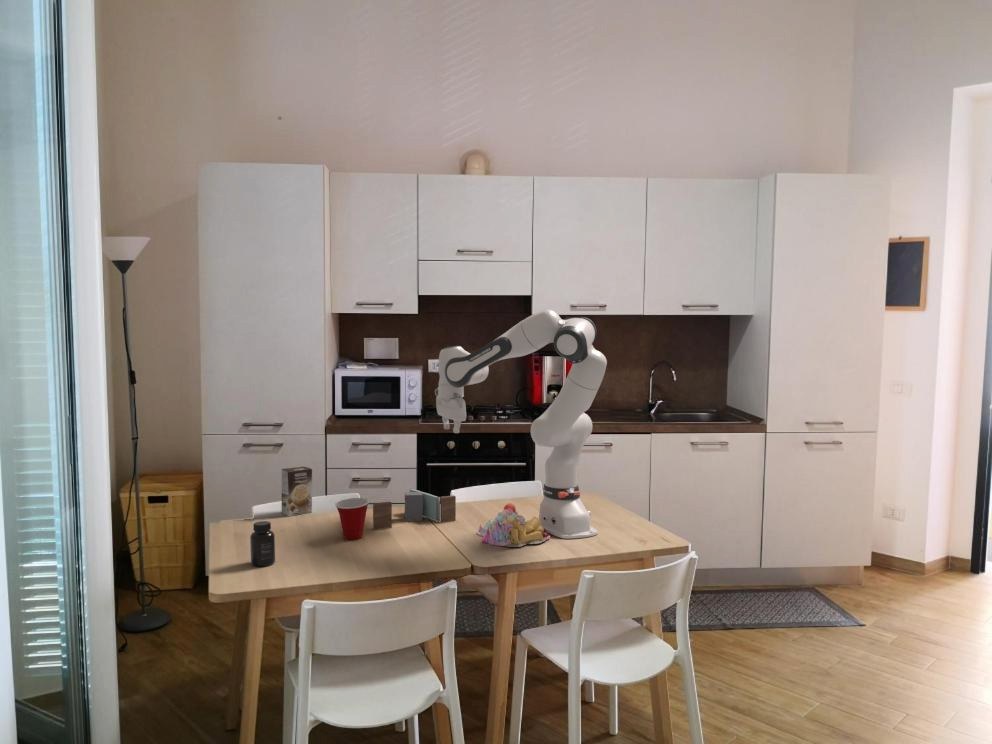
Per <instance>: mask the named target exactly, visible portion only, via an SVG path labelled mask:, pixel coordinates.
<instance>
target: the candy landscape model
mask: <svg viewBox="0 0 992 744" xmlns="http://www.w3.org/2000/svg"><path fill="white" fill-rule="evenodd" d="M541 523H542V522H541V521H540V520H539V517H536V516H533V517H531V519H529V520H527V521H526V518H525V517H524V516H523V515H521V514H518V511H517V509H516V506H515V504H513V503H511V502H510V503H507V504H505V505H504V507H503V510H502V511H501V512H498V513H497V516H495V518H494V519H492V518H491V519H488V522H487V523H485V525H484V526H483V527H482V524H479V527H478V531H477V532H476V533H477V535H478V536H479V537H482V542H483V543H486V545H487V544H489V546H498V548H500V547H507V548H520V547H523V546H526V545H537V544H542V543H543V542H546V541H547V540H550V539H551V537H552V534H550V533H549V532H548V531H547V530H546V529H545V528H542V526H541V525H540V524H541Z"/></svg>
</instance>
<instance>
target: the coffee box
mask: <svg viewBox="0 0 992 744" xmlns="http://www.w3.org/2000/svg"><path fill="white" fill-rule="evenodd" d="M281 513H282V514H284V515H286V516H287V517H294V516H300V515H305V514H306V515H307V514H312V513H313V468H311V467H308V466H296V467H295V466H294V467H287V468H281Z"/></svg>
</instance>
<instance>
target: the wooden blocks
mask: <svg viewBox="0 0 992 744" xmlns="http://www.w3.org/2000/svg"><path fill="white" fill-rule="evenodd" d="M456 499H457V497H456V495H447V496H446V495H445V496H444V495H443V496H440V521H439V522H441V523H445V522H446V523H447V522H456V519H457V518H456V510H457V509H456V507H457V506H456V504H457V502H456V501H457V500H456ZM392 506H393V503H392V501H382V502H373V504H372V528H373V530H381V529H382V530H383V529H392V528H393V519H392V518H393V517H392V514H393V510H392V509H393V507H392Z"/></svg>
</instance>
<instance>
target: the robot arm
mask: <svg viewBox="0 0 992 744" xmlns="http://www.w3.org/2000/svg"><path fill="white" fill-rule="evenodd" d="M596 338H597V327H596V325H595V323H594V321H592V319H590V318H589V317H585V316H566V317H565V318H564V319H562V318H561V316H560V315H559V314H558V313H557V312H556V311H554V310H553V309H544V310H541V311H539V312H536V313H534V314H531V315H530V316H528V317H526V318H525V319H523V320H521V321H519V322H518V323H517V324H515V325H514V326H512V327H511V328H510V329H508V330H507V331H505V332H504V333H503V334H501V335H500V336H498V337H496V338H495V339H493V341H491V342H489V343H487V344H486V345H483V346H482V347H480V348H479V349H477V350H475V351H473V352H471V353H470V352H469V351H466V350H465V349H464V348H463V347H462V346H461V345H452V346H447V347H444V348H442V349H441V350H440V352H439V354H438V355H439V356H438V375H439V381H438V387H437V388H436V389H434V394H435V396H436V398H435V402H436V404H435V407H436V413H437V415H438V416H441V420H442V423H443V429H444V430H450V427H451V426H450V421H449V420H452V421H453V427H452V431H453V433H454V434H460V428H461V426H462V425H461V423H462V422H466V419H467V408H466V407H467V405H466V401H465V399H464V398H463V397H465V395H464V394H465V393H464V392H465V389H464V387H466V386H469V385H474V384H475V385H476V384H479V383H482V382H484V381H486V379H487V378H488V376H489V373H490V366H491V365H492V364H494V363H496V362H499V361H502V360H506V359H512V358H520V357H524V356H527V355H529V354H533V353H535V352H537V351H539V350H540V349H542V348H544V347H546V345H549V344H551V343H553V348H554V350H555V352H556V353H557V354H558V355H559V356H560V357H562V358H563V359H564V360H566V361H568V363H570V364H571V368H570V370H569V372H568V374H567V376H566V379H565V381H564V383H563V385H562V387H561V389H560V391H559V393H558V394H557V396H556V398H555V399H554V400H553V402H552V403H551V404H550V405H549V406H548V408H547V409H546V410H545V411H544V412H543V413H542V414H541V415H539V417H537V418H536V419H534V420H533V421H532V424H531V425H530V437H531V438H532V441H533V443H535V445H537V446H539V447H544V448H552V451H551V454H550V455H549V456H548V458H547V459H546V460H545V464H544V484H543V488H542V493H543V498H542V501H541V502H540V504H539V511H538V512H539V514H538V519H539V520H540V521H541V522H542V523H541V524H540V525H541V526H542V528H545V529H546V530H547V531H548V532H549V533H550V534H551V536H555V537H557V538H560V539H567V540H568V539H580V538H581V539H582V538H589V537H593V536H596V535H598V534H599V533H598V530H597V529H596V528H595V527H594V526H592V525H591V516H592V515H591V511H590V510H587V508H586V507H585V504H584V503H583V502H582V499H581V498H580V497H581V490H580V488H579V485H578V472H579V463H580V462H579V461H580V457H581V454H582V450H583V447H584V445H585V442H586V441H587V439H588V438H590V436H591V434H592V431H593V426H594V425H593V421H592V419H591V416H589V414H587V413H585V412H587V411H588V410H589V409H590V407H592V404H593V402H594V400H595V398H596V396H597V393H598V391H599V388H600V386H601V384H602V382H603V379H604V376H605V373H606V370H607V369H606V368H607V365H608V360H607V357H606V356H605V355H604V353H602V352H601V351H599V350H597V349H596V348H595V347H594V345H593V343H594V342H595V341H596Z"/></svg>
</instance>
